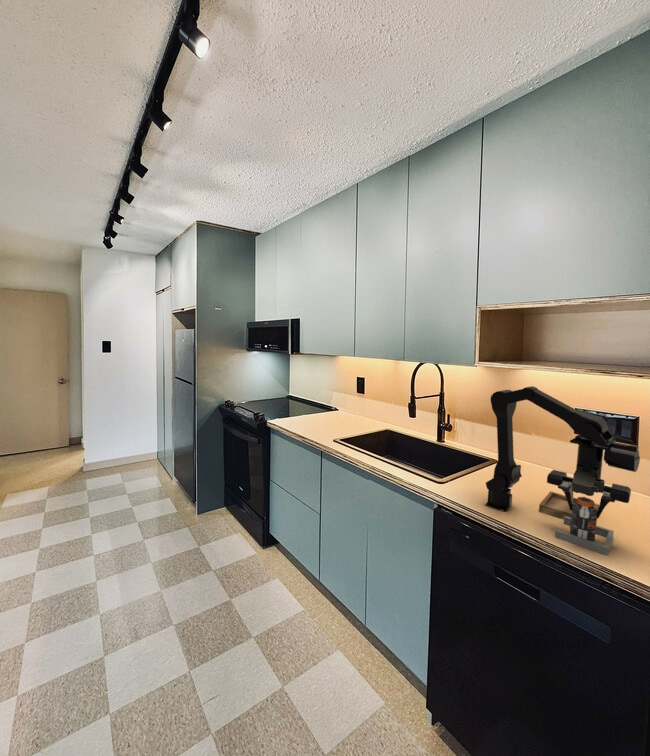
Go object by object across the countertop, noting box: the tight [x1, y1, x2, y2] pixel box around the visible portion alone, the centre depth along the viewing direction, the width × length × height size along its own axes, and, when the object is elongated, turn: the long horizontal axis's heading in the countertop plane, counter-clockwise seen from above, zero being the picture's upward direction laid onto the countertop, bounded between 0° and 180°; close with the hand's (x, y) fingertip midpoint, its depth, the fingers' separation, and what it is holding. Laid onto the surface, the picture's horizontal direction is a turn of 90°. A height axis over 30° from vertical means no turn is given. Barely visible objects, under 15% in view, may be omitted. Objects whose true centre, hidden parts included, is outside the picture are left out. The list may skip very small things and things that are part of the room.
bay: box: [554, 516, 615, 556], centre depth 103 cm, size 12×12×2 cm
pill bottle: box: [569, 496, 598, 542], centre depth 103 cm, size 6×6×11 cm
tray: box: [538, 491, 600, 520], centre depth 118 cm, size 14×14×2 cm
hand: (584, 513), depth 103 cm, fingers closed on pill bottle, 6 cm apart
